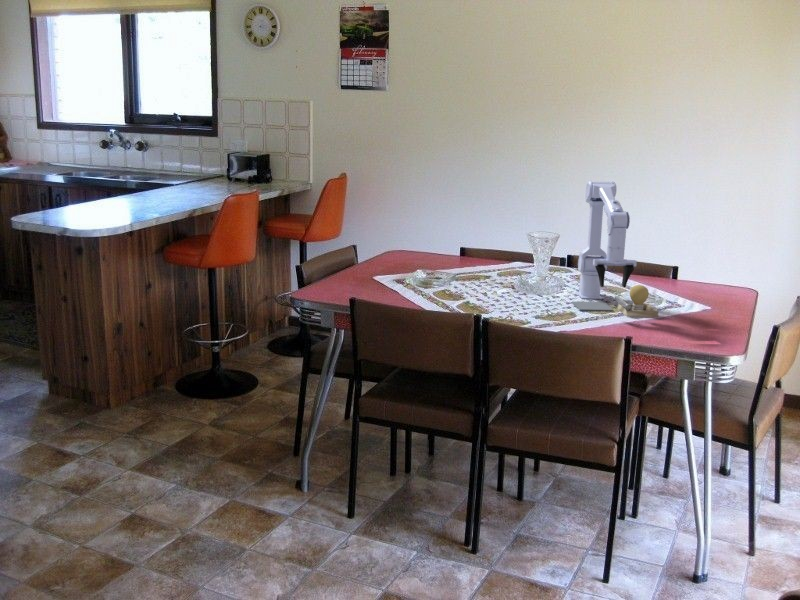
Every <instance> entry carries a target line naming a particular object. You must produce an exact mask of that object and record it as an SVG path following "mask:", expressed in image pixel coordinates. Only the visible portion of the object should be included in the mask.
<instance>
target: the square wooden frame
mask: <svg viewBox="0 0 800 600" xmlns="http://www.w3.org/2000/svg"><path fill="white" fill-rule="evenodd" d="M630 304H631V310H625V309H626V308H625V307H624V306H622V305H621V304H620V303H617V310H618V311H619V312H620V313H622V314H623V315H624V316H625V317H628V318H629V317H630V318H631V317H632V318H634V317H635V318H637V317H638V318H640V317H641V318H644V317H645V318H659V311H658V310H657V309H656V308H655V307H653V306H652V305H651V304H649V303H643V305H644V306H643V309H646V310H632V307H633V303H630Z"/></svg>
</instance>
